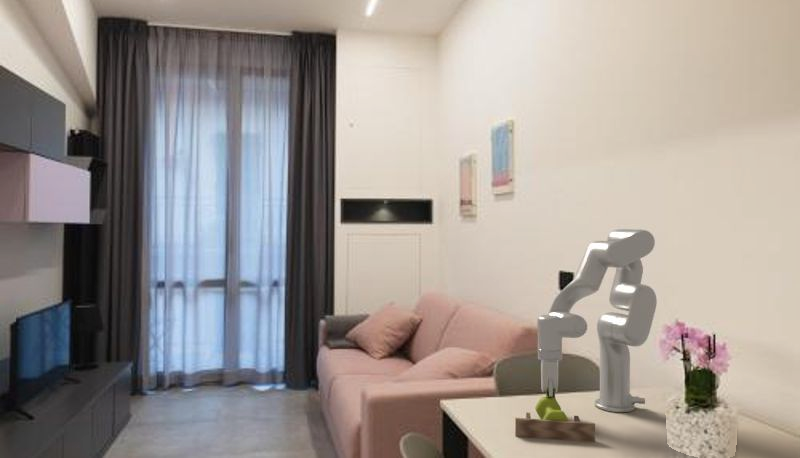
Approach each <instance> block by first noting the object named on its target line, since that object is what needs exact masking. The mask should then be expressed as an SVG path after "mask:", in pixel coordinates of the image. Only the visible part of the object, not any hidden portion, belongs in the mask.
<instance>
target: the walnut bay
mask: <svg viewBox="0 0 800 458" xmlns="http://www.w3.org/2000/svg"><path fill="white" fill-rule="evenodd" d="M514 424H515V427H514V428H515V432H514V434H515V437H520V438H521V437H522V438H534V439H535V438H536V439H550V440H561V441H562V440H563V441H576V442H577V441H578V442H592V443H595V442H596V423H595V422H585V421H581V420H580V417H579V415H573V420H569V421H559V420H544V419H540V418H532V417H531V412H525V417H515V423H514Z"/></svg>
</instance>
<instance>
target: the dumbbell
mask: <svg viewBox="0 0 800 458" xmlns="http://www.w3.org/2000/svg"><path fill="white" fill-rule="evenodd" d="M555 398H556V397H555ZM555 398H553V397H546V396H542V397H540V398H539V400H538V402H537V404H536V405H535V408H534V409H535V412H536V414H537V415H538V417H539V419H544V420H559V421H570V420H569V418H568V417H567V415H566V413H565V411H563V410H562V408H561V405H560V404H559V402H558V400H557V398H556V399H555Z"/></svg>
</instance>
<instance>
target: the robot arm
mask: <svg viewBox="0 0 800 458" xmlns="http://www.w3.org/2000/svg"><path fill="white" fill-rule="evenodd" d="M655 243H656V241H655V237H654V235H653V234H652V233H651V231H648V230H646V229H634V228H633V229H630V228H629V229H628V228H627V229H626V228H624V229H615V230H612V231H610V233H609V234H608V235H607V240H597V241H596V240H594V241H593V242H590V243H589V244H588V245H587V248H586V249H585V251H584V254H583V256H582V258H581V261H580V264H579V266H578V268H577V270H576V273H575V274H574V277H573V279H572V281H571V282H569V283H568V284H567V285H566V286H564V287H563V289H562V290H561V291H560V292H559V293H558V294H557V295H556V296H555V298H554V300H553V302H552V304H551V306H550V308H549V310H548V313H547V314H543V315H539V316H538V317H537V320H536V321H537V325H536V326H537V359H538V360H539V361H541V362H540V378H541V379H540V384H541V386H540V387H541V391H542V393H544V392H545V397H553V398H555V399H556V400H557V398H556V393H557V392H558V388H559V386H558V385H559V362H561V361H563V338H564V339H565V338H569V339H578V338H581V337H583V336H584V335H585V334H586V333H587V330H588V322H587V320H586V319H585V318H584V317H583V316H581V315H578V314H576V313H571V310H572V309H573V307H574V305H575V304H576V303H578V302H579V301H580V300H582V299H585V298H587V297H589V296H591V295H593V294H595V293H597V292H598V291H599V290H600V289H601V285H602V283H603V280H604V277H605V274H606V273H607V270H608V268H615V274H614V278H613V281H612V285H611V287H610V293H609V298H608V299H609V303H610V305H611V307H613V308H615V309H617V310H621V311H626V312H628V313H627V314H623V313H619V312H614V311H613V312H610V311H609V312H605V313H603V314H602V315H600V317H599V318H598V320H597V322H596V331H597V337H598V341H599V343H598V344H599V398H597V399H595V400H594V405H595V407H596V408H598V409H601V410H604V411H608V412H613V413H628V412H632V411H634V410H635V406H636V404H639V405H645V404H646V398H645V397H640V396H638V395H635V396H633V395H632V393H630V392H631V387H630V386H631V354H630V348H629V347H630V346H631V347H641V346H642V345H643V344H645V343H646V341H647V340H648V338H649V335H650V333H651V328H652V324H653V320H654V317H655V313H656V308H657V302H658V301H657V300H658V299H657V294H656V293H655V290H654V289H653V288H652V287H650V286H649V285H647V284H642V279H643V273H644V266H643V262H642V260H641V259H642V258H645V257H646V256H648V255H649V254H650V253H652V251H653V250H654V248H655Z"/></svg>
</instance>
